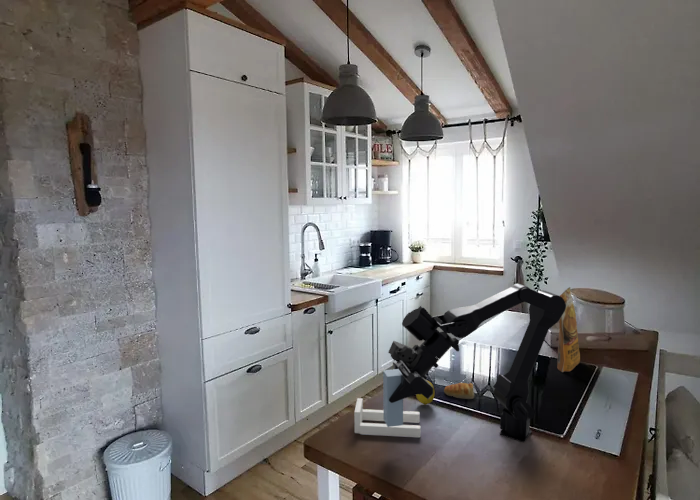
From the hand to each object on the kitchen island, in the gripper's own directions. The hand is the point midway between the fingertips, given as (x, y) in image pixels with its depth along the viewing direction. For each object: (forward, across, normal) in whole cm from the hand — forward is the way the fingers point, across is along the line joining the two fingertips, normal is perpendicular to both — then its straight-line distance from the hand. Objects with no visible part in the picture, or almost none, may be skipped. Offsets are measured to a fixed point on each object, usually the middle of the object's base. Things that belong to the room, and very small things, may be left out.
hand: (387, 397), depth 112 cm
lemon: (-2, -20, +22) cm, 29 cm away
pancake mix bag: (-45, -39, +65) cm, 88 cm away
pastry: (-12, -24, +31) cm, 41 cm away
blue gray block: (+4, 0, +6) cm, 7 cm away
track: (+7, -10, +12) cm, 17 cm away
